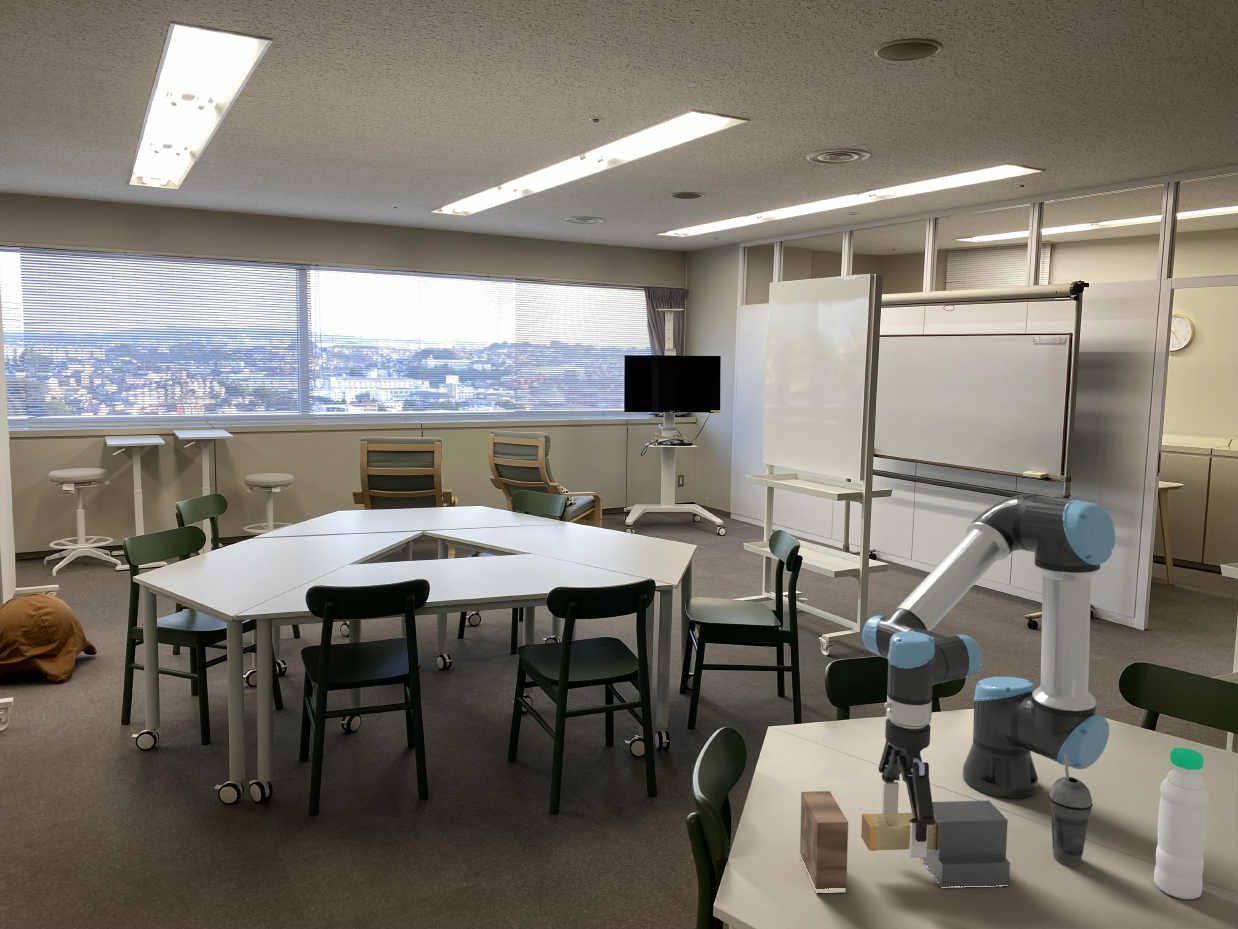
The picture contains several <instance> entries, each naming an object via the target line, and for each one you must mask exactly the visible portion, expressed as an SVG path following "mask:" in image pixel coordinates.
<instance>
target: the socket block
mask: <svg viewBox="0 0 1238 929" xmlns="http://www.w3.org/2000/svg"><path fill="white" fill-rule="evenodd" d="M800 793H801V795H800V799H801V800H800V834H799V835H800V838H799V839H800V842H799V855H800V854H801V857H802V859H803V861H804V863H805V865H806V868H807V870H808V872H809V874H810V876H811V879H812V881H813V883H814V885H815V888H816V889H825V888H826V889H827V888H828V889H829V888H846V889H847V884H848V882H847V880H848V879H847V878H848V876H847V874H848V850H849V849H848V846H849V845H848V844H849V843H848V842H849V820H848V819H847V818H846V816H845V814H844V812H843V811H842V809H841V808H840V806H839V803H838V802H837V800H836V799H835V797H834V796H833V793H831V791H830V790H828V791H827V790H826V791H825V790H823V791H818V790H817V791H816V790H815V791H801V792H800Z"/></svg>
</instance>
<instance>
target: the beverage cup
mask: <svg viewBox="0 0 1238 929" xmlns="http://www.w3.org/2000/svg"><path fill="white" fill-rule="evenodd" d="M1064 760H1065V765H1064V769H1065V770H1064V771H1065V776H1062V777H1060V778H1057V779H1056V780H1055V781H1054V782H1053V783H1052V784H1051V786H1050V789H1049V793H1048V800H1049V806H1050V814H1051V817H1050V818H1051V834H1052V835H1051V837H1052V853H1053V859H1054V858H1055V859H1054V860H1055V861H1056V862H1058V863H1059V862H1060V863H1059V864H1062V865H1063V866H1064V865H1065V866H1068V867H1078V866H1080V865H1081V863H1082V856H1083V854H1084V848H1085V841H1086V836H1087V835H1086V834H1087V829H1088V825H1089V823H1088V822H1089V817H1090V815H1091V812H1092V808H1093V805H1094V804H1093V799H1092V794H1091V791H1090V789H1089V788H1088V786H1087V785H1086V784H1085V783H1084V782H1083V781H1081V780H1080V779H1078V778H1077V777H1072V776H1070V774H1069V766H1068V759H1067V754H1064Z"/></svg>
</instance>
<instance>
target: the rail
mask: <svg viewBox="0 0 1238 929" xmlns="http://www.w3.org/2000/svg"><path fill="white" fill-rule="evenodd" d="M912 818H913V814H912V812H898V813H885V814H882V813H861V829H860V830H861V834H860V837H861V840H862V841H863V842H864V844H865V846H866V848H867V849H868V851H869V852H875V851H895V850H896V851H897V850H898V851H899V850H900V851H901V850H909V847H910V825H911V823H910V821H909V820H910V819H912ZM937 836H938V824H937V823H936V821H935V824H934V825H928V833H927V849H937Z"/></svg>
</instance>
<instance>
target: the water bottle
mask: <svg viewBox="0 0 1238 929" xmlns="http://www.w3.org/2000/svg"><path fill="white" fill-rule="evenodd" d="M1169 757H1170V758H1169V759H1170V765H1171V766H1172V769H1171V770H1170V771H1169V772H1168V773H1167V775H1166V777H1165V778H1164V779H1163V781H1162V782H1161V784H1160V788H1159V792H1160V795H1161V796H1160V801H1159V807H1158V814H1157V815H1158V816H1157V845H1156V849H1155V866H1154V872H1153V881H1154V884H1155V885H1156V887H1157V888H1158V889H1159V890H1161V891H1162V892H1163V893H1165V894H1167V895H1168V896H1171V897H1173V898H1177V899H1180V900H1195V899H1198V898H1199V897H1201V895H1202V893H1203V872H1204V866H1205V860H1204V859H1205V858H1204V853H1205V847H1206V841H1207V839H1206V838H1207V829H1208V828H1207V827H1208V804H1209V800H1210V796H1209V792H1208V790H1207V788H1206V786H1205V784H1204V781H1203V778H1202V777H1201V776H1200V772H1202V770H1203V768H1204V763H1205V762H1204V756H1203V755H1202V753H1200V752H1198V751H1197V750H1193V749H1190V748H1187V747H1174V748H1172V749H1171V751H1170V756H1169Z"/></svg>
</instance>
